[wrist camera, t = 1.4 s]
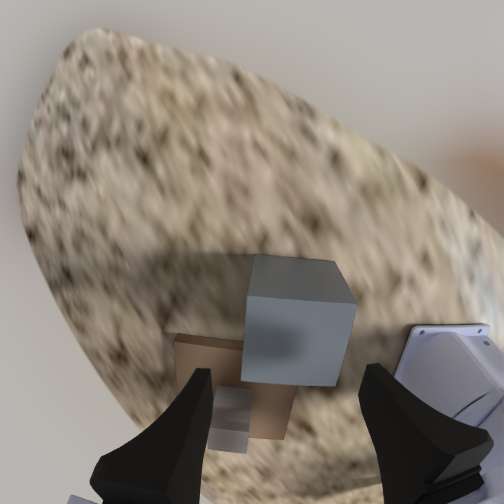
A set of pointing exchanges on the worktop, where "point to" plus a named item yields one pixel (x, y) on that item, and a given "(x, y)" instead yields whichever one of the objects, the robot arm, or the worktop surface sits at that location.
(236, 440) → the brown base with post
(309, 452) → the worktop surface
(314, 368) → the blue-grey block
